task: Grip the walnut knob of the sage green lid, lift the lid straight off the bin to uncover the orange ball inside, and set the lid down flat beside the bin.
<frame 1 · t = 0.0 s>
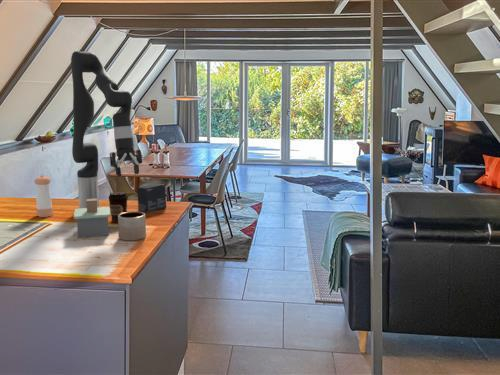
hand: (128, 175, 219), 22 cm above the countertop, tool pointing down, fingers open, 8 cm apart
pepper shaker: (45, 215, 239), on the countertop
planter: (132, 238, 205), on the countertop
small box: (152, 209, 253), on the countertop
lid: (92, 213, 210), point 8 cm above the countertop, touching bin
coffee cup: (119, 221, 230), on the countertop
ball: (93, 226, 211), point 3 cm above the countertop, touching bin
bin: (93, 232, 212), on the countertop
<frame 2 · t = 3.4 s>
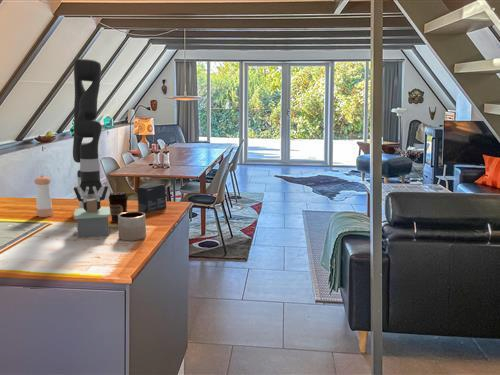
hand: (92, 210, 210), 10 cm above the countertop, tool pointing down, fingers closed on lid, 4 cm apart
lid: (92, 213, 210), point 8 cm above the countertop, touching bin, gripper
everything else where it was.
when the fingers open (4 cm above the countertop, at t = 8.8 s): lid drops 2 cm, on the countertop.
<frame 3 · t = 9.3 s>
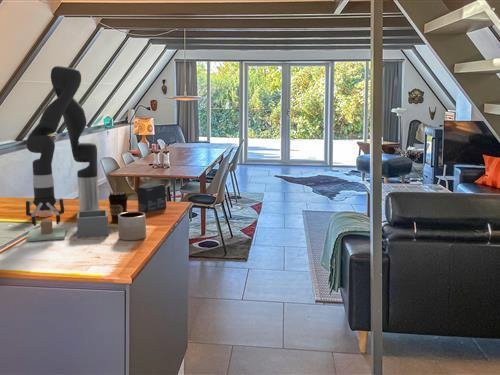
hand: (46, 224, 206), 5 cm above the countertop, tool pointing down, fingers open, 8 cm apart
lid: (47, 235, 206), on the countertop
everything else where it was.
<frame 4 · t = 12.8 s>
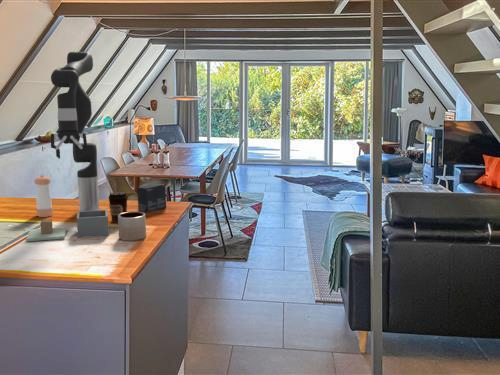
hand: (70, 157, 214), 30 cm above the countertop, tool pointing down, fingers open, 8 cm apart
nothing on the countertop moved.
at the end: lid inside the target area (0.1 cm from its centre), on the countertop; lid touching countertop; lid tilted 0° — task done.
